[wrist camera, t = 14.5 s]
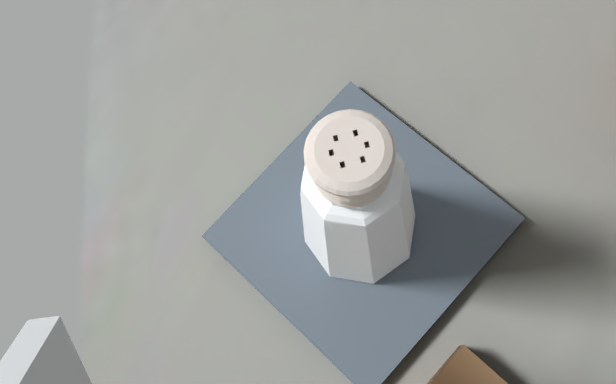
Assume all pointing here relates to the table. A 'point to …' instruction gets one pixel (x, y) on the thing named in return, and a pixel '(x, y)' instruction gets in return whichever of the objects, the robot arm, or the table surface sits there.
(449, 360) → the walnut frame
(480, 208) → the grey mat
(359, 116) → the pepper shaker
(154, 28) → the table surface
